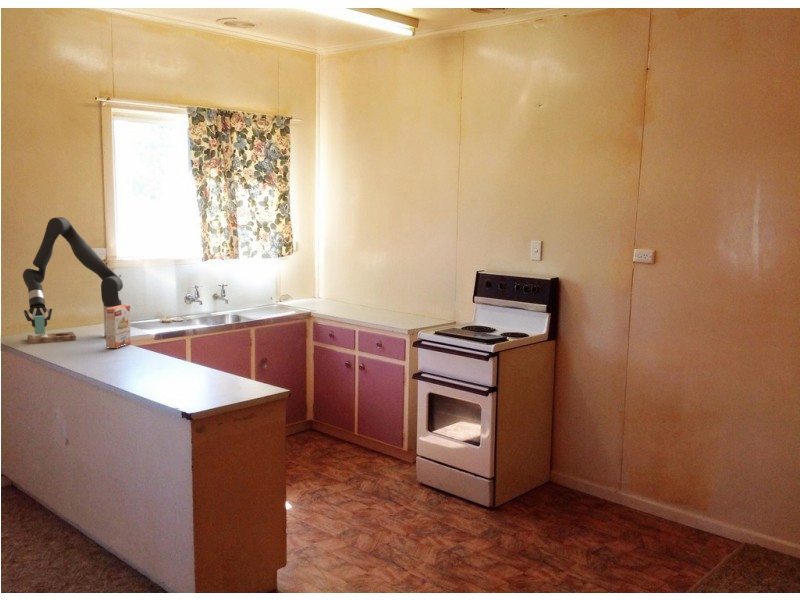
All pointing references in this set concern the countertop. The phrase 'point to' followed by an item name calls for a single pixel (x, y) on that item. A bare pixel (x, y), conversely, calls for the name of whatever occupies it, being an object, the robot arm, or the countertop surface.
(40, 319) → the teal block
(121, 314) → the cracker box
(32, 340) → the puzzle board
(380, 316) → the countertop surface
